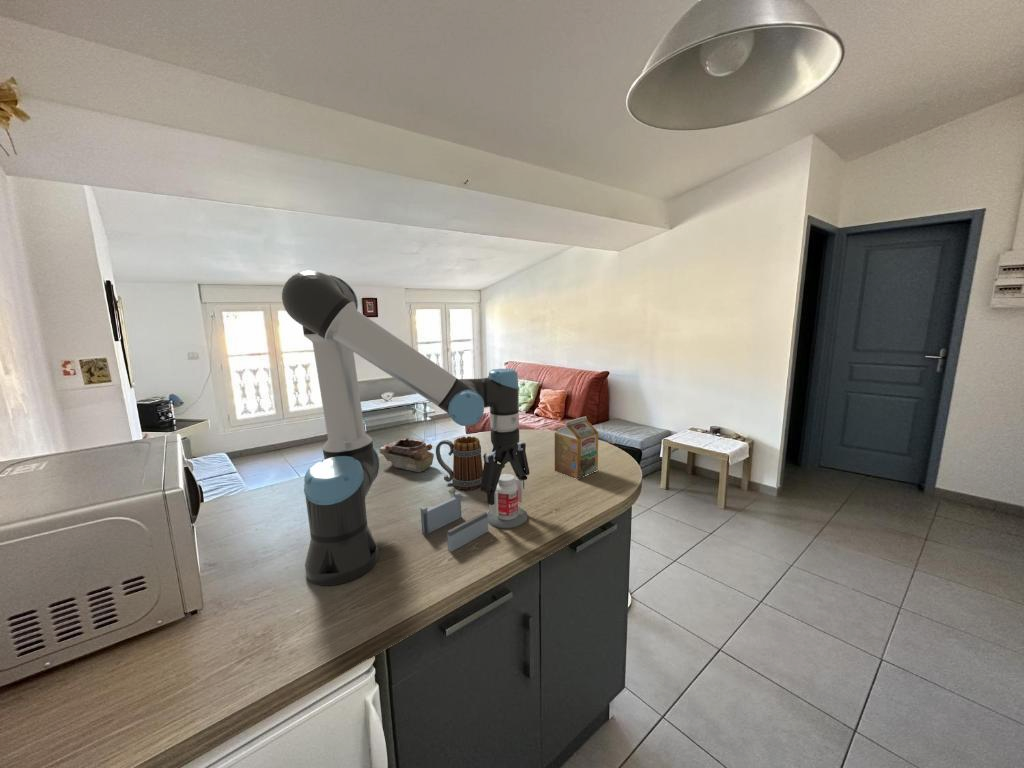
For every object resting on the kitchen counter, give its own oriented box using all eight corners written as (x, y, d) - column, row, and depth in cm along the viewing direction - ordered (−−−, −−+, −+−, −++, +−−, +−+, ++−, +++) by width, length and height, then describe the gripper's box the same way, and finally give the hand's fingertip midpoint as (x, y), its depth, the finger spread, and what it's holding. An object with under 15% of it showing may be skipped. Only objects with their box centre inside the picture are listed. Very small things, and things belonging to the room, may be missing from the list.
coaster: (507, 533, 100) (507, 530, 100) (478, 518, 107) (478, 516, 107) (535, 516, 108) (535, 514, 107) (506, 504, 115) (506, 501, 115)
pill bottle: (511, 523, 103) (510, 483, 101) (491, 517, 106) (490, 479, 104) (522, 512, 108) (521, 474, 106) (503, 507, 111) (502, 470, 109)
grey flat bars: (451, 552, 92) (449, 524, 91) (422, 533, 101) (420, 508, 99) (488, 531, 101) (487, 505, 100) (458, 515, 109) (457, 492, 108)
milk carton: (577, 480, 131) (577, 425, 127) (554, 470, 139) (554, 418, 135) (597, 471, 137) (598, 419, 134) (574, 463, 145) (575, 413, 142)
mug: (486, 477, 134) (485, 435, 132) (481, 491, 124) (479, 445, 121) (442, 476, 136) (440, 434, 133) (433, 489, 126) (430, 445, 123)
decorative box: (409, 480, 134) (407, 453, 132) (371, 468, 144) (369, 443, 143) (436, 467, 144) (435, 442, 143) (399, 457, 155) (397, 433, 154)
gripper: (483, 441, 93) (486, 528, 97) (542, 421, 108) (542, 497, 112) (463, 435, 98) (467, 518, 102) (522, 417, 113) (523, 490, 117)
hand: (506, 507), depth 107 cm, fingers open, 9 cm apart
